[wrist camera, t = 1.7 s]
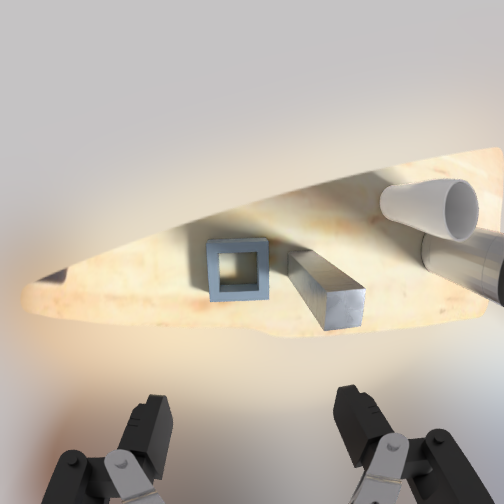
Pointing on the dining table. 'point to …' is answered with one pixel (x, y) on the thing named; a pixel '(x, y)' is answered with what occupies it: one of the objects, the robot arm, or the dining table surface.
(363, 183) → the dining table surface
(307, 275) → the square bit
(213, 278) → the socket block
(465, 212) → the drinking glass
